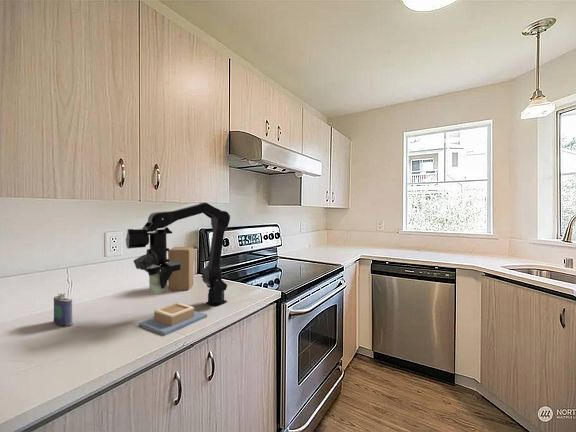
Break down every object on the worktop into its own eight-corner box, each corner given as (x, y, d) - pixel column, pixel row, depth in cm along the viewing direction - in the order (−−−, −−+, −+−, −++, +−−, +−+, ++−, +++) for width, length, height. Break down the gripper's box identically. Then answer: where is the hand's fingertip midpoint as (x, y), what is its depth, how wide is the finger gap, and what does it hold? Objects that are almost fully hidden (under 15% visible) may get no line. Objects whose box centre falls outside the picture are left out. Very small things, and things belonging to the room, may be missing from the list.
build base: (182, 309, 115) (181, 298, 115) (207, 316, 108) (207, 304, 107) (139, 325, 99) (138, 312, 99) (165, 335, 92) (165, 321, 92)
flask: (74, 324, 99) (73, 294, 99) (64, 328, 97) (63, 296, 96) (60, 319, 104) (59, 290, 103) (50, 322, 101) (49, 292, 101)
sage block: (160, 288, 111) (160, 273, 111) (167, 290, 108) (167, 274, 108) (149, 291, 107) (149, 275, 107) (156, 293, 105) (156, 277, 104)
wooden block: (174, 285, 149) (173, 246, 148) (193, 284, 150) (193, 246, 149) (167, 290, 139) (167, 249, 138) (189, 290, 140) (189, 249, 139)
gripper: (122, 246, 105) (123, 288, 106) (153, 251, 95) (154, 297, 96) (150, 243, 114) (151, 281, 115) (181, 247, 105) (182, 289, 105)
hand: (158, 287), depth 108 cm, fingers closed on sage block, 4 cm apart
